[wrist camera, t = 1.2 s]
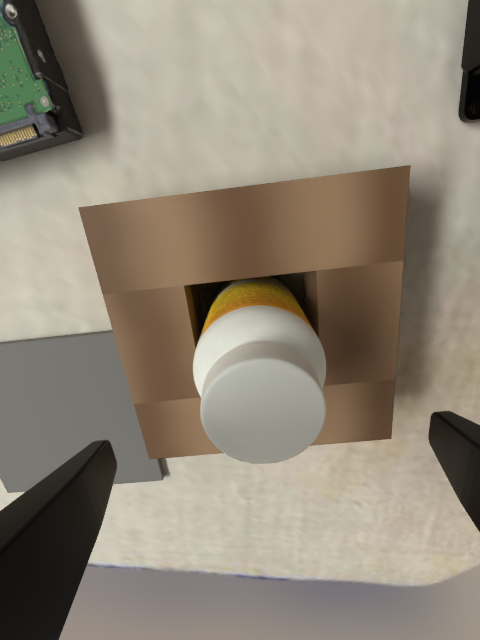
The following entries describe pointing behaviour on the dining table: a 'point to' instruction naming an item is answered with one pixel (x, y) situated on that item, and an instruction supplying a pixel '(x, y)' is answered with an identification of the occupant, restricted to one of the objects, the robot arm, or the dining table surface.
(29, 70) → the disk drive
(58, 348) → the rubber mat
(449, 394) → the dining table surface
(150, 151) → the dining table surface
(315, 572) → the dining table surface
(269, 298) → the supplement bottle
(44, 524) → the robot arm
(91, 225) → the socket block
